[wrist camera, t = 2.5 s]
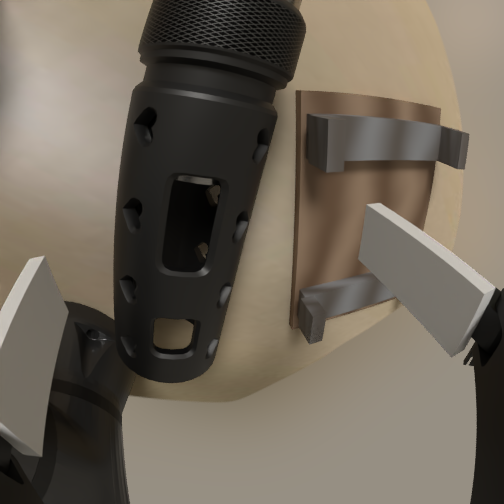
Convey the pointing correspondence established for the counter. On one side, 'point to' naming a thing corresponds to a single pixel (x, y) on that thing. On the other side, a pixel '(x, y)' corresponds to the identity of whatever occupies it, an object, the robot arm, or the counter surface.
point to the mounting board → (356, 193)
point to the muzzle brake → (194, 169)
